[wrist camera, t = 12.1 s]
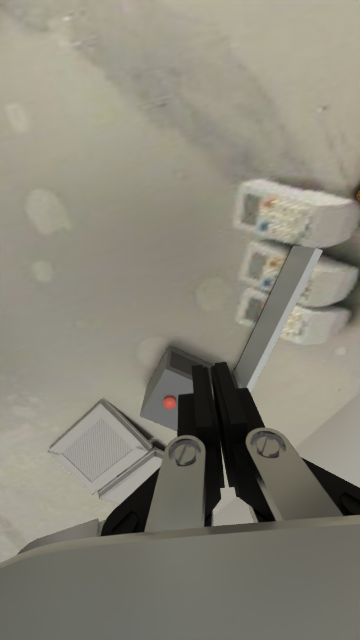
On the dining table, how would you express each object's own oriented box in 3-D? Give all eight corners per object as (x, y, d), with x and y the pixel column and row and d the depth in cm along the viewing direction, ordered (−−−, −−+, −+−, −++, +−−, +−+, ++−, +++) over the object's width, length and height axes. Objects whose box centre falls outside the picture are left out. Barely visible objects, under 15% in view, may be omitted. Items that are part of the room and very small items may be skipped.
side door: (291, 245, 30) (313, 247, 25) (303, 249, 30) (328, 252, 25) (231, 374, 36) (239, 397, 31) (241, 377, 36) (251, 401, 31)
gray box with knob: (146, 386, 38) (138, 419, 31) (168, 345, 35) (165, 371, 29) (224, 419, 40) (232, 457, 33) (250, 382, 37) (265, 414, 31)
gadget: (200, 469, 45) (201, 489, 41) (145, 507, 48) (142, 528, 45) (104, 395, 39) (96, 410, 36) (51, 443, 43) (39, 462, 40)
